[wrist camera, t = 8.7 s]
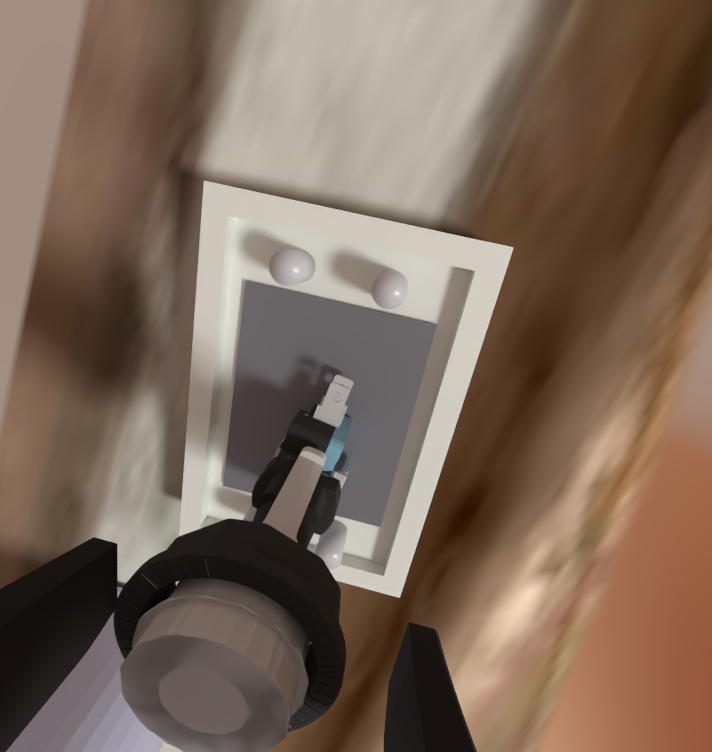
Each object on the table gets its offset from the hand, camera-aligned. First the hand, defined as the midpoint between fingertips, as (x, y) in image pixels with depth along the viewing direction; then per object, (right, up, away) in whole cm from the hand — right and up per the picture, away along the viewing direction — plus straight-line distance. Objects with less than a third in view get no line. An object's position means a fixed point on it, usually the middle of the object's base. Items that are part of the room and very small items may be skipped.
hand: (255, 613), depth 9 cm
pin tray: (+1, +5, +9) cm, 10 cm away
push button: (+1, +3, +8) cm, 8 cm away
